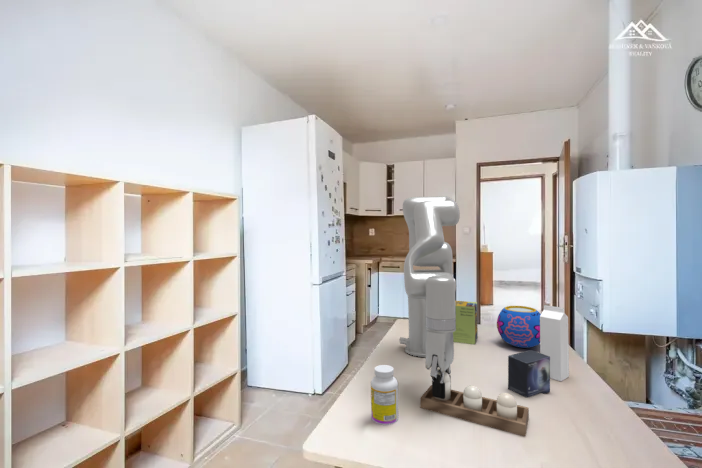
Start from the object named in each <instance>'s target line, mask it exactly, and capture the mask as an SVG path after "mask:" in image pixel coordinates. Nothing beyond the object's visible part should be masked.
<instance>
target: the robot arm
mask: <svg viewBox="0 0 702 468" xmlns="http://www.w3.org/2000/svg"><path fill="white" fill-rule="evenodd" d="M460 214H461V213H460V208H459V204H458V203H457V202H456V200H454V198H451V197H450V196H443V195H442V196H413V197H408V198H406V199H404V200H403V202H402V215H403V218H404V220H405V222H406V225H407V228H408V245H409V247H408V249H409V251H408V253H407V254H406V255H405V259H404V264H403V280H404V281H403V282H404V289H405V290H404V291H405V292H406V293H405V294H406V295H407V305H408V308H407V309H408V310H407V311H408V337H407V338H406V337H400V338H399V344H401V345H405V347H404V351H405V353H406V354H407V353H408V354H407V355H409V354H410V356H412V355H413V356H412V357H416V356H418V358H425V368H426V370H430V374H429V375H430V377H431V385H432V395H433V396H434V397H437V398H441V399H444V398H445V383H444V371H445V372H447V373H448V374H449V376H450V380H451V381H452V376H451V375H452V374H451V373H452V369H451V365H452V363H454V359H455V358H454V356H455V345H454V343H455V342H454V341H453V332H454V331H456V310H455V301H456V291H457V282H456V279H455V278H454V276H453V265H454V264H453V263H454V262H453V250H452V247H451V245H450V244H449V242H446V241H445V237H444V230H443V227H451V226H452V227H453V226H456V225H457V224H458V223H460V218H461V217H460ZM414 267H431V268H432V267H434V268H435V267H437V268H439V269H414ZM437 372H439V373H441V377H440V375H438V374H437Z"/></svg>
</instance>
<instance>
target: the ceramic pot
mask: <svg viewBox="0 0 702 468" xmlns="http://www.w3.org/2000/svg"><path fill="white" fill-rule="evenodd" d="M541 314H542V313H540V312H539V311H538V310H537V309H536V308H534V307H530V306H525V305H524V306H523V305H507V306H505V307H503V308H502V309H501V310H500V312H499V314H498V315H497V318H496V328H497V332H498V333H499V336H500V337H501V339H502V340H503V341H504V342H506V344H509V345H511V346H513V347H516V348H519V349H526V348H527V349H528V348H534V347H535V346H538V345H540V315H541Z"/></svg>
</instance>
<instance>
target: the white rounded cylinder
mask: <svg viewBox="0 0 702 468" xmlns="http://www.w3.org/2000/svg"><path fill="white" fill-rule="evenodd" d="M437 374H438V375H440V377H441V373H439V372H437ZM444 383H445V398H444V399H441V398H437V397H435V398H436V399H439V400H449V399H450V398H451V390H452V379H451V380H450V376H449V374H448V373H447V372H445V371H444Z"/></svg>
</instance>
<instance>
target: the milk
mask: <svg viewBox="0 0 702 468" xmlns="http://www.w3.org/2000/svg"><path fill="white" fill-rule="evenodd" d="M540 314H541V315H540V344H539V347H540V348H539V349H540V352H539V353H541V354H544V355H547V356H550V380H551V379H552V380H555V381H557V382H563V381H565V380H566V379H567V378H569V376H570V360H569V359H570V356H569V355H570V352H569V351H570V350H569V347H570V346H569V345H570V343H569V316H568V315H567V314H566V313H565V309H564V307H561V306H560V307H559V306H553V305H546V304H544V305H543V310H542V312H541V313H540Z"/></svg>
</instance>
